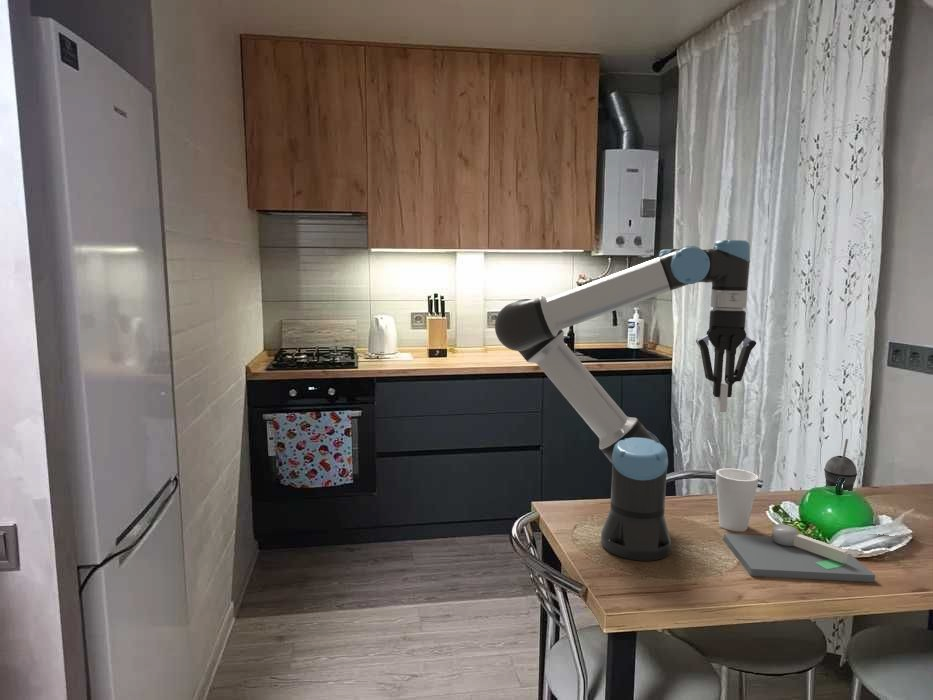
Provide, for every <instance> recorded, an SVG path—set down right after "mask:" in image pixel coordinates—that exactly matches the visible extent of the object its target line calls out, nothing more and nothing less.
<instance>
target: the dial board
mask: <svg viewBox="0 0 933 700" xmlns="http://www.w3.org/2000/svg"><path fill="white" fill-rule="evenodd" d="M722 540H723V541H724V543H725V544H726V546H727V548H729V549H730V551H731V550H732V551H731V552H732V553H733V555H734V556H735V557H736V558H737V560H738V561H739V562H740V564H741V565H742V566H743V568H744V569H745V571H746V572H747V573H748V574H749V575H750V577H763V576H764V578H765V577H767V578H781V579H782V578H783V579H784V578H789V579H803V580H804V579H808V580H824V581H844V582H858V583H859V582H861V583H862V582H863V583H875V582H876V581H875V579H876V574H875V573H873V572H872V570H870V569H868V568H867V567H866V566H865V565H864V564H863V563H862V562H860V561H859V560H858V559H857V558H856V557H854V556H853V555H852V554H851V553H850V554H847V562H845V563H840V562H838V561H835V560H832V559H829V558H827V557H824V556H821V555H818V554H815V553H813V552H810V551H807V550H804V549H802V548H799V547H796V546H787V545H782V544H779V543H776V542H774V541H773V540H772V535H760V534H739V533H738V534H736V533H723V539H722Z"/></svg>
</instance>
